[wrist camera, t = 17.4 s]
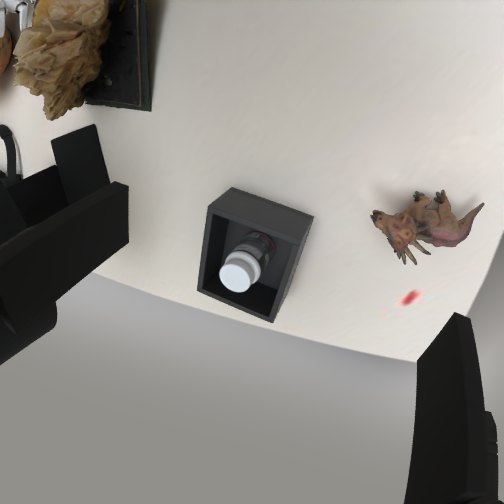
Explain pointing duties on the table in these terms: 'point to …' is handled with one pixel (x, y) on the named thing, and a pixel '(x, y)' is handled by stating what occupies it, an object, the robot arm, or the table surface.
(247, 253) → the pill bottle
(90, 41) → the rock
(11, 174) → the virtual reality headset
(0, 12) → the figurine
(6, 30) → the bowl
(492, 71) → the table surface
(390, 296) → the table surface
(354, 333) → the table surface
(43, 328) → the table lamp
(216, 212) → the basket
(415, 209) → the dinosaur figurine
